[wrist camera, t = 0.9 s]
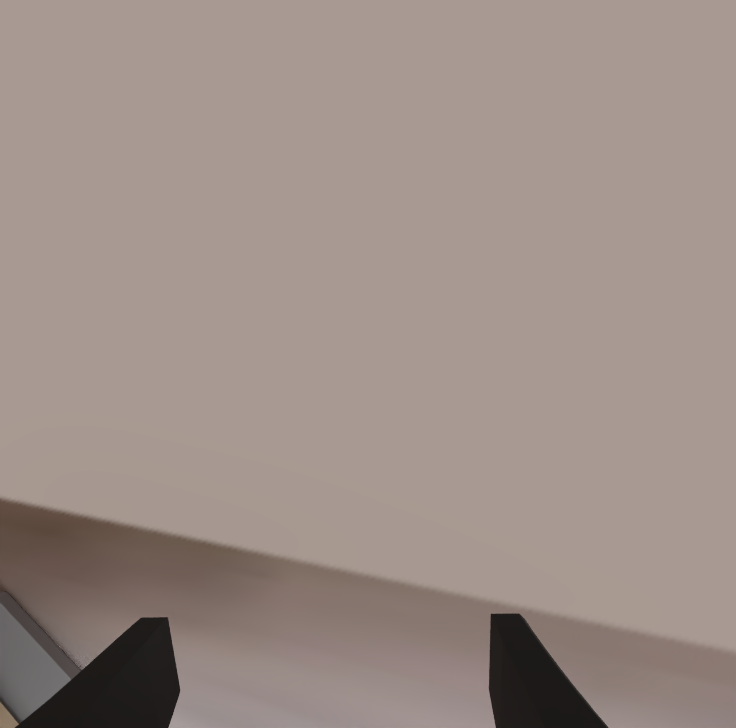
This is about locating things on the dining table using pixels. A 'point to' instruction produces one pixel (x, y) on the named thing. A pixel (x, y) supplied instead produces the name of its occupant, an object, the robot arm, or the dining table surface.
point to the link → (6, 718)
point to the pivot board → (28, 662)
